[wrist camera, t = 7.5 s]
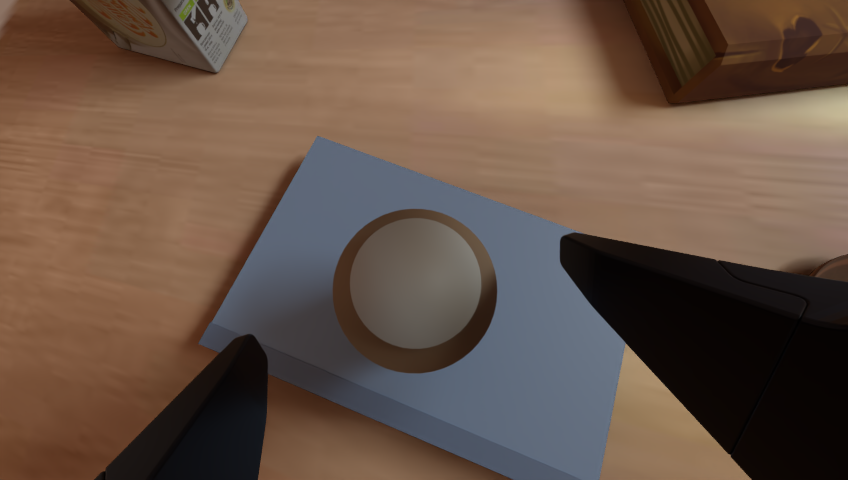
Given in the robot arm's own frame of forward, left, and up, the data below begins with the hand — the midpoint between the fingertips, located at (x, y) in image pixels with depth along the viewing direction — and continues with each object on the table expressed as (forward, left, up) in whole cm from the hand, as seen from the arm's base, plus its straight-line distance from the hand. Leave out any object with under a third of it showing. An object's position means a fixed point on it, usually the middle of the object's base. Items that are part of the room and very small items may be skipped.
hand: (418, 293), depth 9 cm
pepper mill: (0, 0, -10) cm, 10 cm away
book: (+1, -1, -13) cm, 13 cm away
